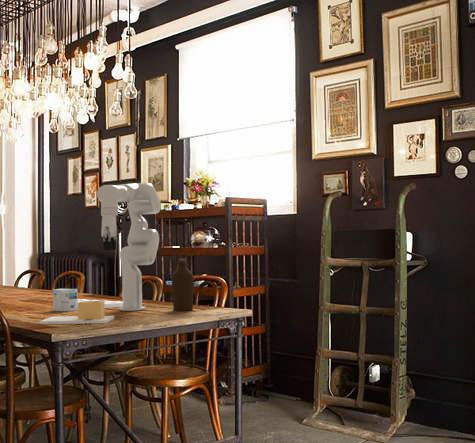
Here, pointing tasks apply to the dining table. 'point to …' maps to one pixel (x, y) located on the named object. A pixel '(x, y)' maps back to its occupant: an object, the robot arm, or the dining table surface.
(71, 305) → the light bulb box
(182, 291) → the olive oil
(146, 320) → the dining table surface
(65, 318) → the white flat panel
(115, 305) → the holder
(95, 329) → the dining table surface
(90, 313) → the tan rectangular block
